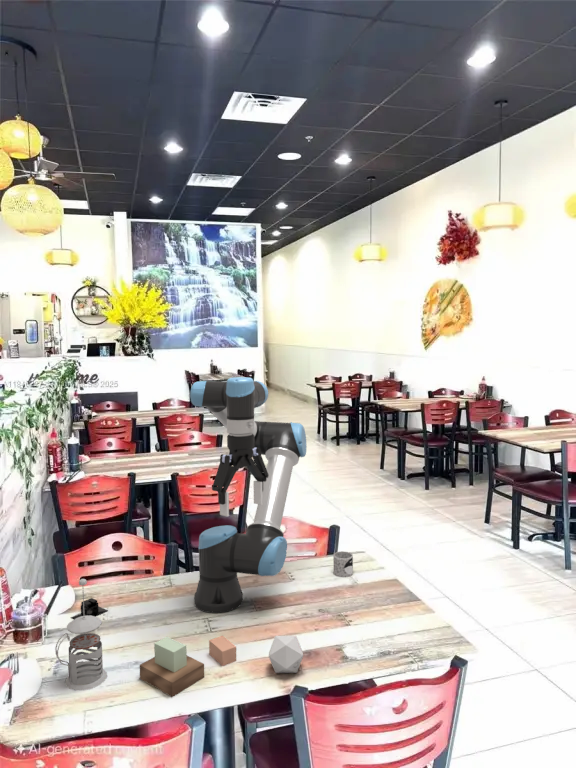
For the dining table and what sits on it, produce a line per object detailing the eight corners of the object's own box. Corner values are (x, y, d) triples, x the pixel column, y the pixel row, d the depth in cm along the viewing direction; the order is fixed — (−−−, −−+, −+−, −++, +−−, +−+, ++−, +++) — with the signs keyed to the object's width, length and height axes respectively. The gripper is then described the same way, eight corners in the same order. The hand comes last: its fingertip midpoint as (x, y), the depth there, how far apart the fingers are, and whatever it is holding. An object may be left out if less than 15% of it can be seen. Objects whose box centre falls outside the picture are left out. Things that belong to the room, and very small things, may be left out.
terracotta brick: (209, 654, 156) (209, 640, 156) (222, 649, 158) (222, 635, 158) (222, 666, 150) (222, 651, 150) (236, 661, 153) (236, 646, 152)
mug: (347, 578, 203) (347, 559, 202) (330, 574, 206) (330, 556, 206) (359, 568, 212) (359, 550, 211) (342, 565, 215) (342, 547, 214)
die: (291, 687, 142) (312, 648, 145) (259, 666, 144) (280, 627, 146) (290, 679, 151) (310, 642, 153) (260, 659, 152) (280, 623, 154)
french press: (112, 681, 144) (109, 581, 142) (62, 698, 138) (57, 593, 135) (101, 663, 152) (97, 567, 150) (53, 677, 146) (49, 578, 144)
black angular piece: (78, 627, 172) (77, 612, 171) (63, 620, 176) (63, 605, 176) (114, 611, 181) (114, 596, 181) (99, 604, 186) (99, 590, 185)
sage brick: (154, 662, 146) (154, 643, 145) (167, 655, 149) (166, 636, 148) (174, 672, 141) (173, 652, 141) (186, 665, 145) (186, 645, 144)
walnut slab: (140, 680, 145) (139, 664, 145) (171, 662, 153) (171, 647, 153) (172, 699, 138) (172, 682, 137) (204, 679, 145) (204, 663, 145)
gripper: (217, 442, 152) (219, 523, 154) (280, 429, 171) (280, 501, 173) (197, 438, 156) (199, 517, 158) (260, 426, 176) (261, 497, 178)
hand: (241, 509), depth 166 cm, fingers open, 13 cm apart
